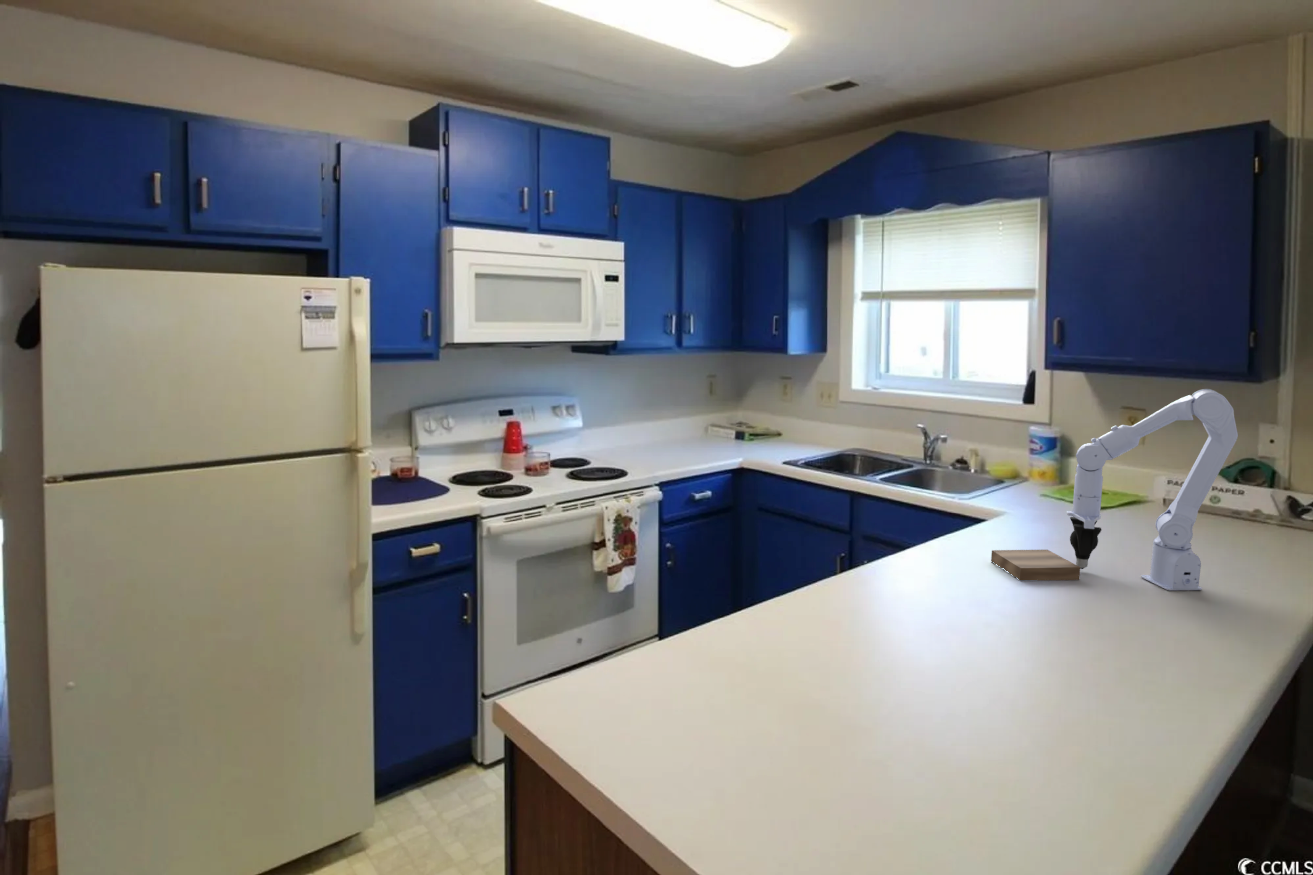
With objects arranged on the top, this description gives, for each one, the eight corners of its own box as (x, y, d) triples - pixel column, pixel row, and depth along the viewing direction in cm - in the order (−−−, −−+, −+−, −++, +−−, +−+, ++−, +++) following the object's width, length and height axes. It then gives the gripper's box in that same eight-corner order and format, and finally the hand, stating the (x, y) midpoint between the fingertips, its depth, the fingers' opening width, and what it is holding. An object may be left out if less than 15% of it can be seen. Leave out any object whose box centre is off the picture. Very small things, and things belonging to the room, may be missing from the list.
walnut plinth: (1079, 579, 182) (1080, 567, 182) (1019, 580, 181) (1020, 568, 181) (1046, 561, 196) (1047, 549, 196) (991, 562, 195) (991, 550, 195)
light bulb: (1100, 572, 185) (1104, 531, 184) (1074, 572, 185) (1078, 531, 184) (1087, 565, 191) (1091, 524, 190) (1063, 564, 191) (1066, 524, 190)
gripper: (1065, 487, 194) (1061, 541, 196) (1071, 500, 180) (1067, 557, 182) (1098, 489, 191) (1093, 544, 193) (1106, 502, 178) (1102, 561, 180)
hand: (1083, 551), depth 188 cm, fingers closed on light bulb, 6 cm apart
